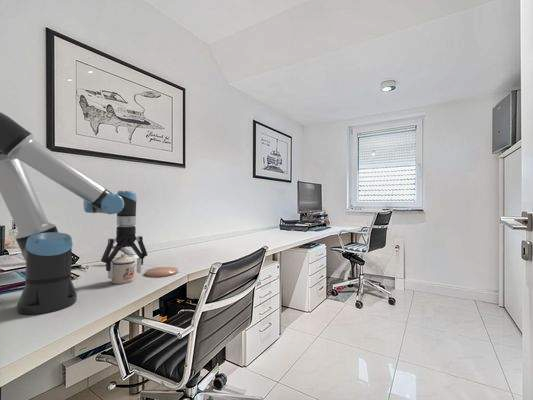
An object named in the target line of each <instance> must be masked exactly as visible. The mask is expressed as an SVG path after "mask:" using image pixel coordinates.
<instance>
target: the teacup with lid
mask: <svg viewBox="0 0 533 400" xmlns="http://www.w3.org/2000/svg"><path fill="white" fill-rule="evenodd" d="M127 256H128V255H127V254H124V253H123V254H121V255H120V256H119V257H117V258H116V259H115V258H114V259H113V260H112V262H111V263H113V279H111V283H112V284H115V285H122V284H123V285H124V284H128V283H129V284H130V283H132V282H133V281H134V280H135V268H136V265H135V263H134V262H135V260H134V259H133V258H130V257H127Z"/></svg>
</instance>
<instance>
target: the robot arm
mask: <svg viewBox="0 0 533 400" xmlns="http://www.w3.org/2000/svg"><path fill="white" fill-rule="evenodd" d="M24 164H26V165H27V166H29V167H30V168H32V169H34V170H35V171H37V172H38V173H40V174H42V175H43V176H45V177H47V178H48V179H49V180H51V181H53V182H55V183H56V184H58V185H59V186H61V187H62V188H64V189H66V190H67V191H69V192H71V193H73V195H75V196H77V197H78V198H80V199H82V200H83V210H84V212H85V213H87V214H96V213H97V214H107V215H115V214H116V231H115V232H116V234H115V235H116V236H115V238H108V240H107V246H106V247H105V250H104V252H103V255H102V256H101V259H100V261H101V262H102V263H105V271H106V272H107V278H108V279H109V280H112V279H113V263H111V262H112V261H113V260H115V257H116V256H117V255H118V253H119V250H120V249H121V248H122V247H123V248H132V250H133V251H134V254H136V255H137V256H138V257H139V258H137V265H136V273H138V274H142V266H143V265H144V259H145V257H148V252H147V249H146V246H145V244H144V240H143V236H142V235H138V236H136V233H137V231H136V230H137V229H136V228H137V227H136V226H135V225H136V223H137V193H136V192H135V191H133V190H118V191H117V192H116V193H113V192H111V191H110V190H108V189H107V188H106V187H104V186H102V185H101V184H100V183H98V182H97V181H95V180H94V179H92V178H91V177H90V176H88V175H87V174H86V173H84V172H83V171H81V170H79V169H78V168H76V167H75V166H73V165H72V164H70V163H69V162H68V161H66V160H65V159H63V158H62V157H61V156H59V155H58V154H56V153H55V152H53V151H52V150H50V149H49V148H47V147H46V146H44V145H43V144H42V143H40V142H38V141H37V140H36V139H35V137H34V135H33V133H32V132H30V131H28V130H27V129H25V128H24V127H23V126H21V125H20V124H19V123H18V122H16V121H15V120H14V119H12V118H11V117H9V116H8V115H7V114H4V112H1V111H0V195H1V198H2V200H3V201H4V203H5V204H4V205H5V206H6V208H7V210H8V213H9V214H10V216H11V219H12V221H13V223H14V224H15V227H16V230H17V233H16V235H15V236H14V239H15V242H16V243H17V245H18V247H19V249H20V251H21V255H22V257H23V259H24V260H25V285H24V287H23V289H22V292H21V295H20V296H19V297H20V298H19V300H18V302H17V306H16V312H17V313H18V314H22V315H40V314H46V313H52V312H56V311H59V310H62V309H66V308H68V307H71V306H72V305H74V304H75V303H76V302H77V300H78V298H77V297H78V293H77V292H76V288H75V287H74V283H73V281H72V255H73V254H72V253H73V252H72V251H73V249H72V248H73V240H72V236H71V235H70V234H68V233H66V232H64V233H63V232H60V231H58V228H57V225H56V224H53V223H51V222H49V220H48V218H47V215H46V214H45V212H44V209H43V206H42V204H41V202H40V200H39V198H38V195H37V193H36V191H35V189H34V186H33V184H32V181H31V180H30V177H29V174H28V172H27V170H26V168H25V165H24ZM135 242H137V244H138V247H139V248H138V247H137V244H136V243H135ZM115 243H116V245H114V244H115ZM113 246H115V248H114V249H113V250H112V247H113Z"/></svg>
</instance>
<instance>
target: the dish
mask: <svg viewBox="0 0 533 400" xmlns="http://www.w3.org/2000/svg"><path fill="white" fill-rule="evenodd" d="M178 273H179V268H177V267H174V266H159V267H153V268H149V269H146V270H145V271H144V275H145V276H146V277H149V278H164V277H165V278H166V277H171V276H174V275H177V274H178Z"/></svg>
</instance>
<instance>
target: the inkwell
mask: <svg viewBox="0 0 533 400" xmlns="http://www.w3.org/2000/svg"><path fill="white" fill-rule="evenodd" d="M115 246H116V245H113V247H112V249H113V250H114V248H115ZM112 249H111V250H112ZM119 251H120V252H121V253H123V254H126V256H127V257H130V258H133V259H134V260H135V262H134V263H135V266H137V258H139V257H138V255H137V254H136V253H133V252H132V251H130V250H129V249H128V248H127V247H124V248H123V247H122V248H121V249H120V250H119Z"/></svg>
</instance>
